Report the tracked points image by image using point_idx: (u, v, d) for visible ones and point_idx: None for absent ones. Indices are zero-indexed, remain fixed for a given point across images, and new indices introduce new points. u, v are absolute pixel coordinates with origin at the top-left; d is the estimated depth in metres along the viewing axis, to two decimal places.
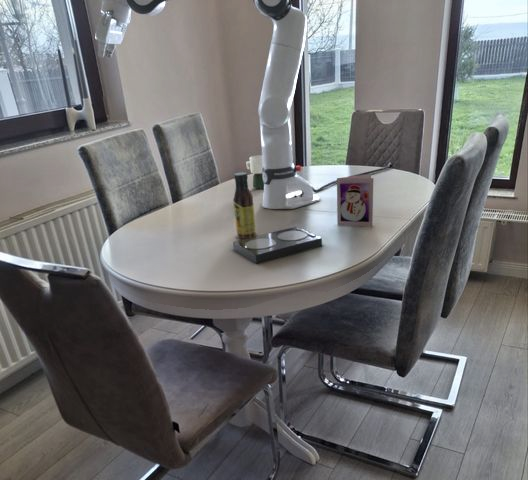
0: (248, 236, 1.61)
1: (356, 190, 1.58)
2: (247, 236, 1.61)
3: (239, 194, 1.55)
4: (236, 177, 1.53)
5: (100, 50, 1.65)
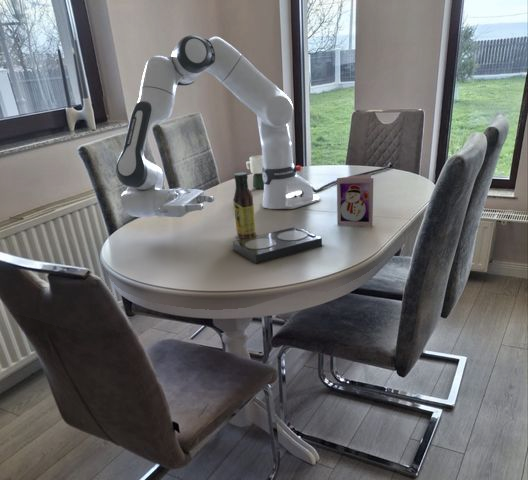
0: (248, 236, 1.61)
1: (356, 190, 1.58)
2: (247, 236, 1.61)
3: (239, 194, 1.55)
4: (236, 177, 1.53)
5: (195, 208, 1.58)
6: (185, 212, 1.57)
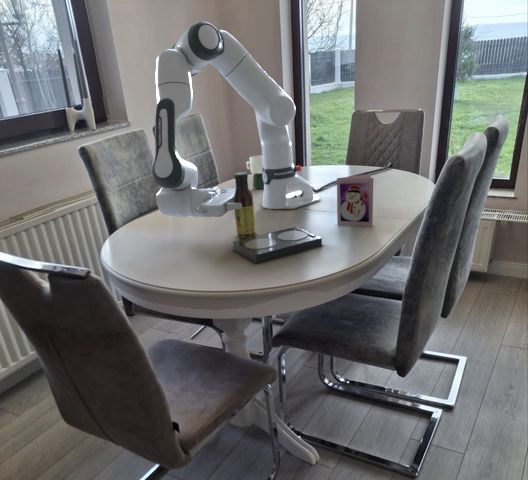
0: (248, 236, 1.61)
1: (356, 190, 1.58)
2: (247, 235, 1.61)
3: (240, 194, 1.55)
4: (236, 177, 1.53)
5: (235, 207, 1.55)
6: (224, 212, 1.54)
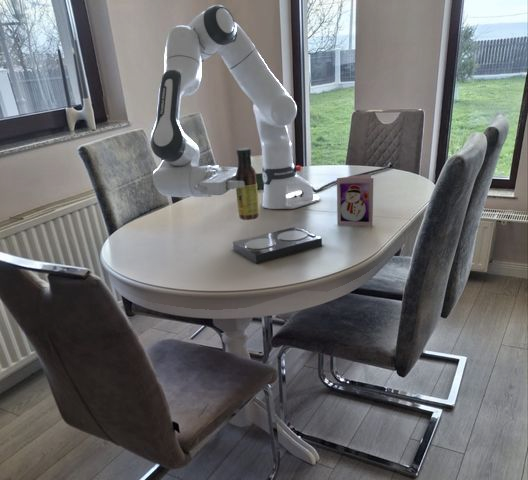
0: (251, 217, 1.51)
1: (356, 190, 1.58)
2: (250, 217, 1.51)
3: (242, 171, 1.45)
4: (238, 152, 1.42)
5: (237, 185, 1.45)
6: (225, 190, 1.43)
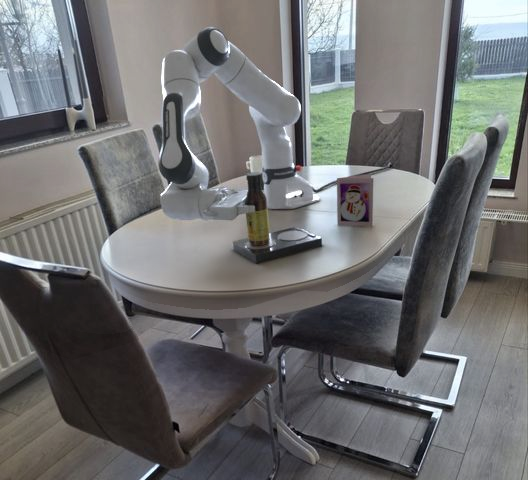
0: (261, 243, 1.46)
1: (356, 190, 1.58)
2: (260, 242, 1.46)
3: (252, 197, 1.39)
4: (248, 178, 1.37)
5: (247, 210, 1.39)
6: (236, 214, 1.38)
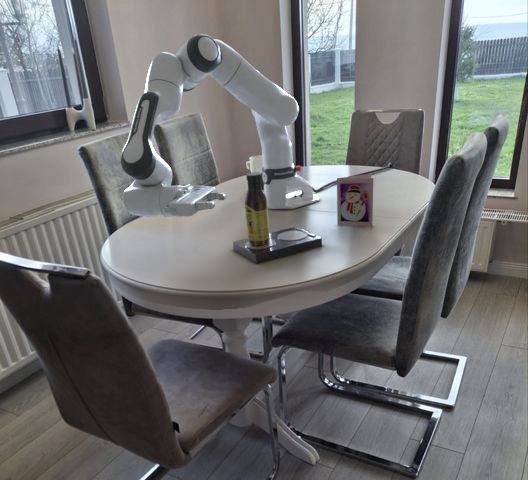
0: (261, 243, 1.46)
1: (356, 190, 1.58)
2: (260, 242, 1.46)
3: (252, 197, 1.39)
4: (248, 178, 1.37)
5: (206, 206, 1.41)
6: (194, 211, 1.41)
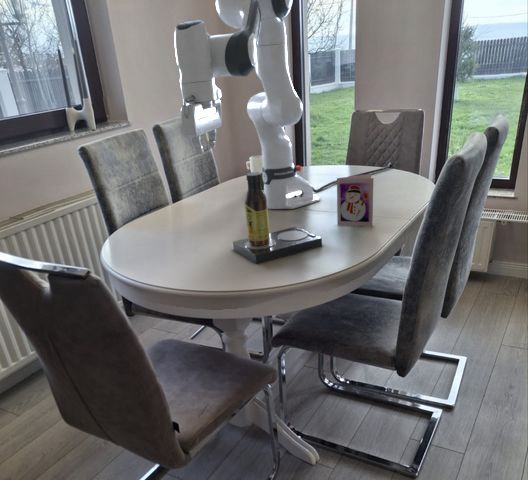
0: (261, 243, 1.46)
1: (356, 190, 1.58)
2: (260, 242, 1.46)
3: (252, 197, 1.39)
4: (248, 178, 1.37)
5: (196, 146, 1.34)
6: None
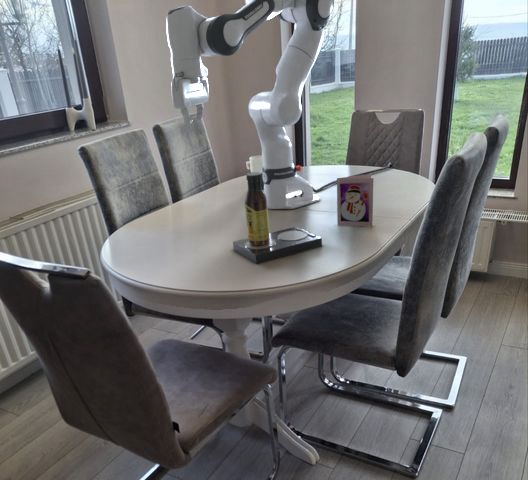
0: (261, 243, 1.46)
1: (356, 190, 1.58)
2: (260, 242, 1.46)
3: (252, 197, 1.39)
4: (248, 178, 1.37)
5: (185, 117, 1.53)
6: None
